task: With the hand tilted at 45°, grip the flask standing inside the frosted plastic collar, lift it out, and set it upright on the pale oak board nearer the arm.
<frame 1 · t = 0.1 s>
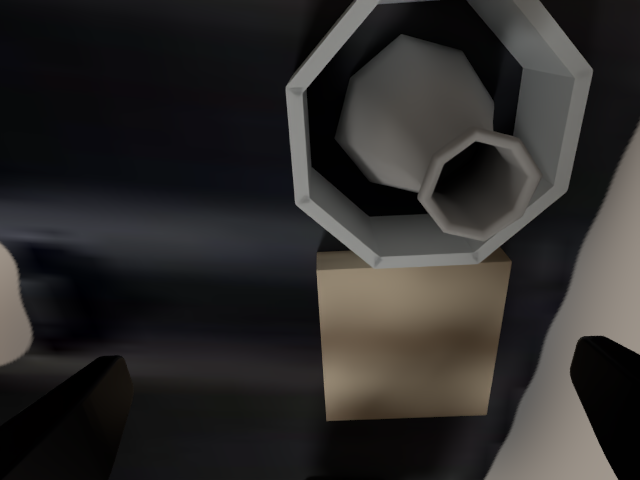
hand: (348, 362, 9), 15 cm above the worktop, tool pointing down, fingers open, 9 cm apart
flask: (410, 118, 21), on the worktop
oak board: (403, 327, 26), on the worktop
collar: (411, 119, 21), on the worktop
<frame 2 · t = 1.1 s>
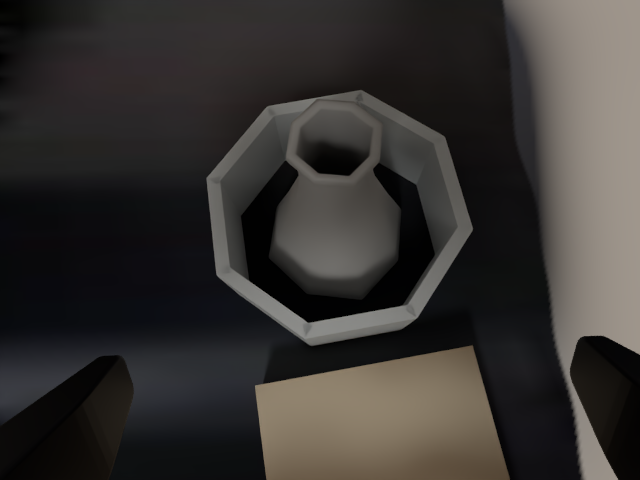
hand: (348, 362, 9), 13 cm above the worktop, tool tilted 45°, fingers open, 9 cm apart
flask: (335, 236, 24), on the worktop
collar: (335, 234, 23), on the worktop
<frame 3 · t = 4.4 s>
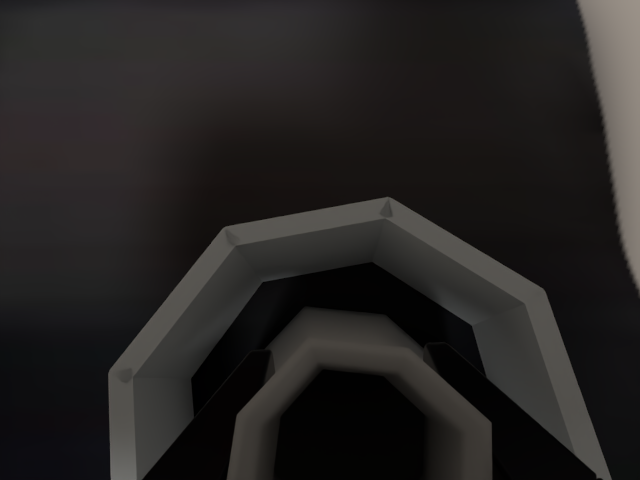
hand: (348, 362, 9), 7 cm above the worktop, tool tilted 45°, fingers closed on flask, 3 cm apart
flask: (343, 414, 15), on the worktop, touching gripper
collar: (343, 414, 14), on the worktop
when the fingers open (10 cm above the worktop, at t = 8.0 s): flask stays where it is, resting on oak board.
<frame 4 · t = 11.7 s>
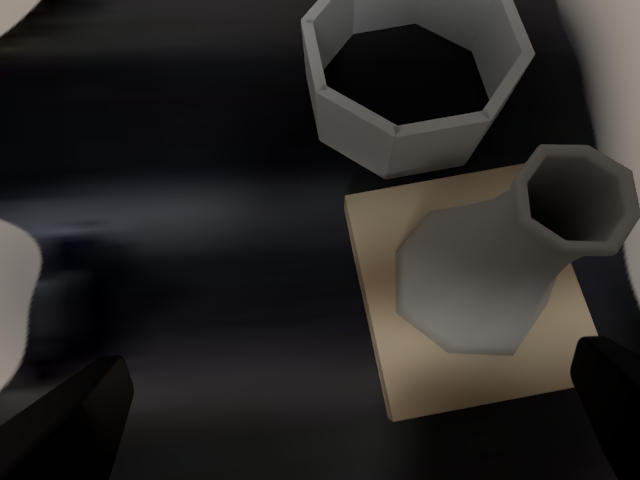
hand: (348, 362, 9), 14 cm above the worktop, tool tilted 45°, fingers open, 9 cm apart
flask: (465, 281, 21), point 2 cm above the worktop, touching oak board
oak board: (458, 288, 23), on the worktop
collar: (402, 92, 26), on the worktop
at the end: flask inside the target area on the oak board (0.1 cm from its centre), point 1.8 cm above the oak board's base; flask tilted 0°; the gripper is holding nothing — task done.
